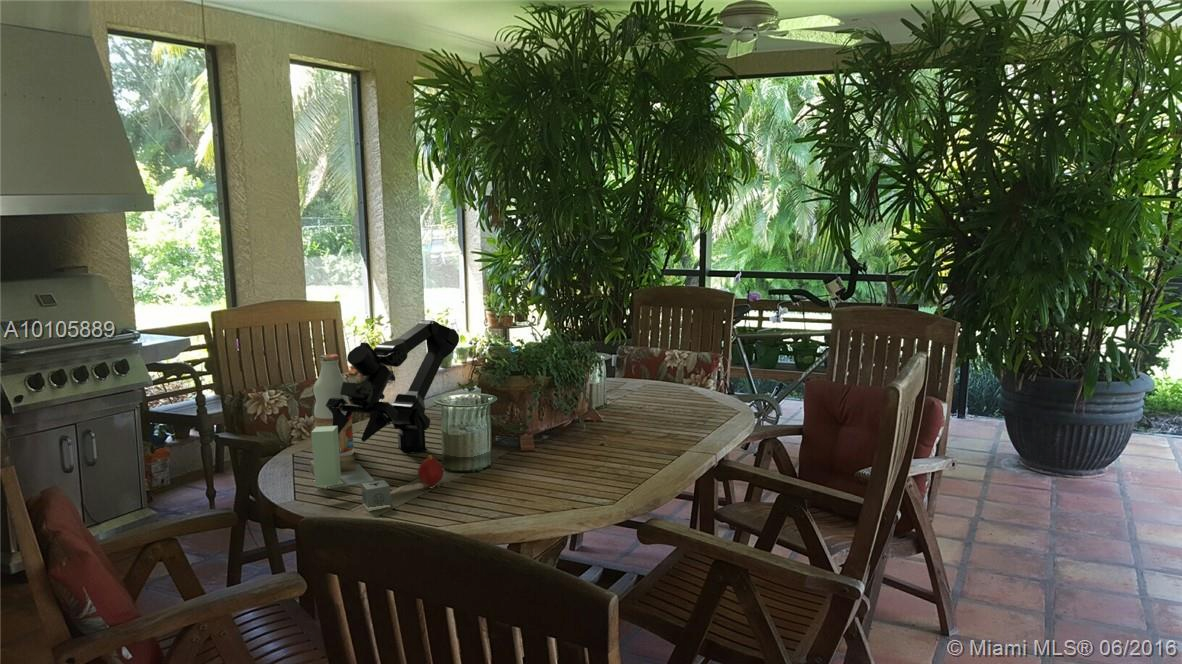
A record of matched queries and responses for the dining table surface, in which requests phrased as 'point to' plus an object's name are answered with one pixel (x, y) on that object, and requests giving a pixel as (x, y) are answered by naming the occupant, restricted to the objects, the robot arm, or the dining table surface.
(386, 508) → the dining table surface
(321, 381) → the fruit juice
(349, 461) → the beam
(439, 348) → the robot arm
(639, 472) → the dining table surface
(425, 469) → the onion
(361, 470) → the board
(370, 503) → the dice cube
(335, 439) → the post
